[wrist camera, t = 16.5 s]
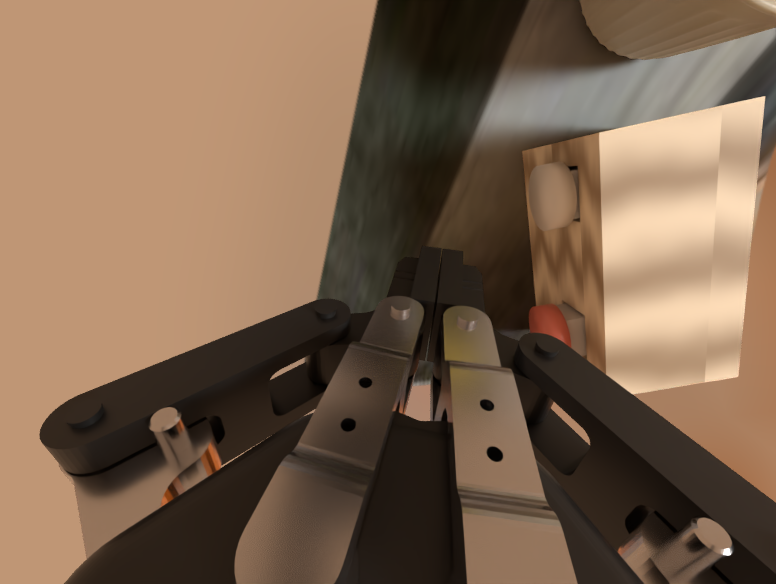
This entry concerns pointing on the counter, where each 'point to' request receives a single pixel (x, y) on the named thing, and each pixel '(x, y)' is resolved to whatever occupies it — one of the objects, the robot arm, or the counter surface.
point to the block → (656, 244)
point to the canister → (673, 24)
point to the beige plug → (554, 195)
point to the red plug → (560, 324)
